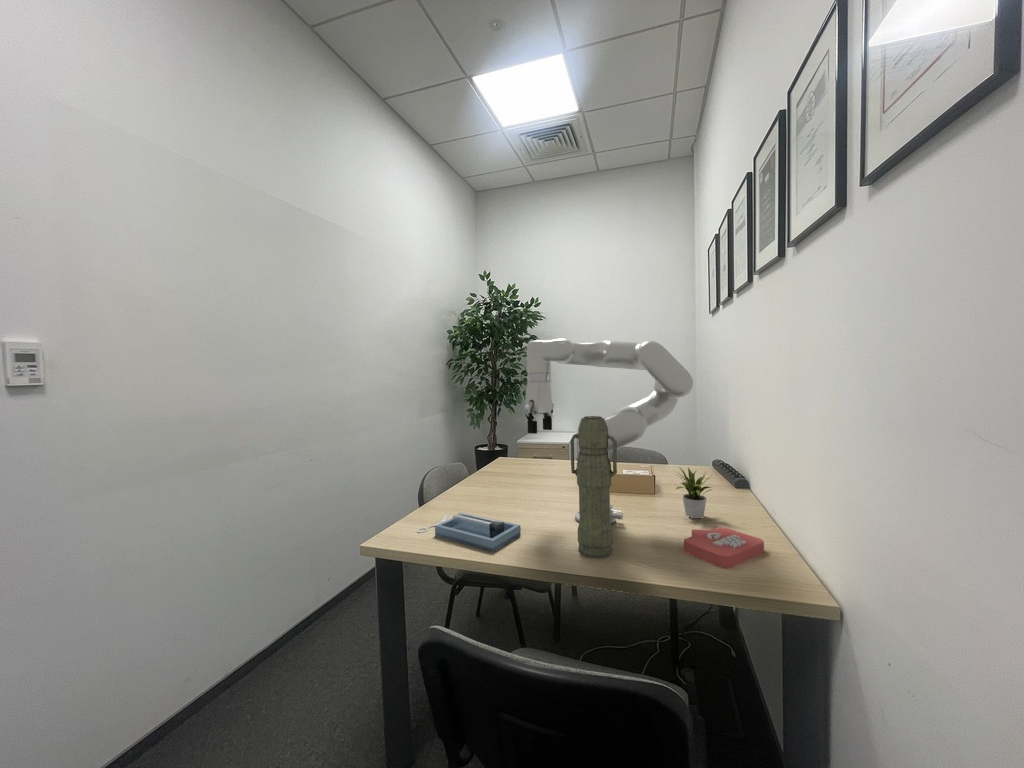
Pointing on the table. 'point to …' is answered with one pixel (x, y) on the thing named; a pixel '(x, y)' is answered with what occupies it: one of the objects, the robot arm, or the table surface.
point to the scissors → (433, 525)
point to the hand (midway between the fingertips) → (540, 431)
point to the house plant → (693, 495)
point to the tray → (478, 536)
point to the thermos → (594, 486)
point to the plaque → (723, 546)
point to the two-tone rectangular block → (478, 525)
